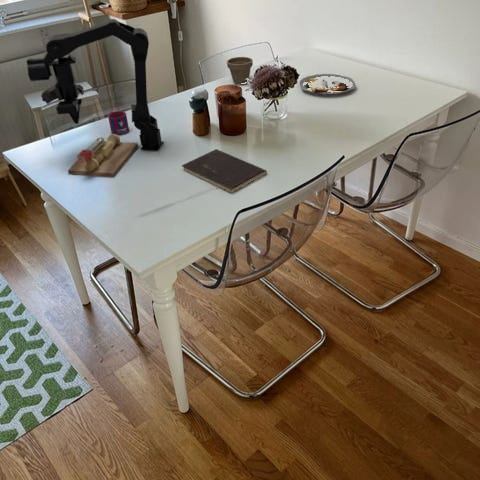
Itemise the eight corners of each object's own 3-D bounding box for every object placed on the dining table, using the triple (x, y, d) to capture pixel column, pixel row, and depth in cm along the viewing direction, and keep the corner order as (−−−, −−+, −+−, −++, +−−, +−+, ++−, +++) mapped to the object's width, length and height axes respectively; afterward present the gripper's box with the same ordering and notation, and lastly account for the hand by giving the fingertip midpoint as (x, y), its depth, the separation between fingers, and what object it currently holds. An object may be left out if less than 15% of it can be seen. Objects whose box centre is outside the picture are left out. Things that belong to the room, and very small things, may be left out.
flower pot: (226, 79, 236) (225, 57, 230) (251, 77, 237) (250, 55, 231) (229, 88, 227) (228, 65, 221) (254, 86, 228) (254, 63, 222)
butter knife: (219, 189, 157) (214, 185, 159) (139, 220, 146) (134, 215, 148) (220, 191, 158) (215, 186, 160) (139, 221, 147) (135, 216, 149)
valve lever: (99, 142, 175) (98, 136, 173) (106, 142, 174) (105, 136, 173) (78, 161, 164) (76, 155, 162) (86, 162, 163) (84, 156, 162)
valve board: (138, 146, 184) (135, 130, 180) (113, 177, 167) (110, 160, 163) (97, 144, 187) (93, 128, 183) (68, 174, 170) (64, 157, 166)
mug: (114, 136, 192) (111, 119, 188) (106, 127, 199) (102, 110, 195) (131, 132, 194) (128, 115, 190) (122, 123, 201) (119, 106, 197)
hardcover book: (231, 195, 156) (230, 189, 154) (182, 171, 169) (181, 165, 168) (266, 175, 164) (266, 169, 163) (217, 154, 178) (217, 148, 177)
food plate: (359, 97, 212) (359, 88, 210) (302, 99, 213) (302, 91, 211) (349, 78, 233) (349, 70, 231) (297, 80, 234) (297, 72, 232)
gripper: (44, 70, 172) (57, 114, 181) (33, 90, 157) (47, 137, 166) (78, 67, 172) (89, 111, 182) (70, 87, 157) (82, 134, 167)
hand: (76, 123), depth 174 cm, fingers closed
